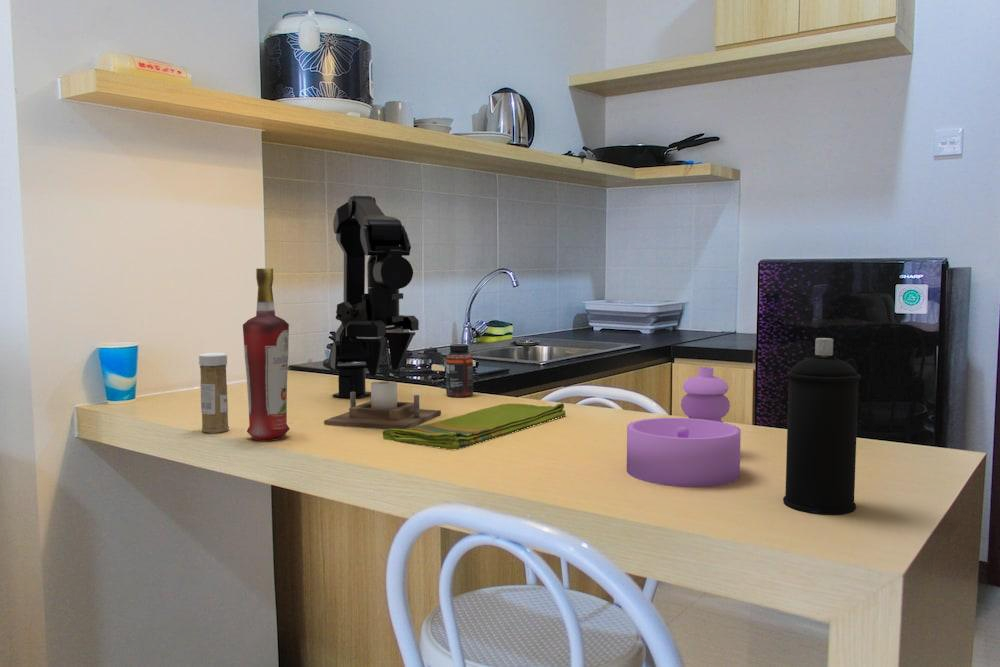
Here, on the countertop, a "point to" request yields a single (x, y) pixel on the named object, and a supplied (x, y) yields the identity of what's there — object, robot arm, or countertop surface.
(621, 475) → the countertop surface
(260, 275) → the liquor
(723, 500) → the countertop surface
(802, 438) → the aerosol can
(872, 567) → the countertop surface
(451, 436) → the dish towel
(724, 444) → the container set
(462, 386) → the supplement bottle
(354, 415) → the holder
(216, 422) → the spice jar
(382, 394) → the roll
